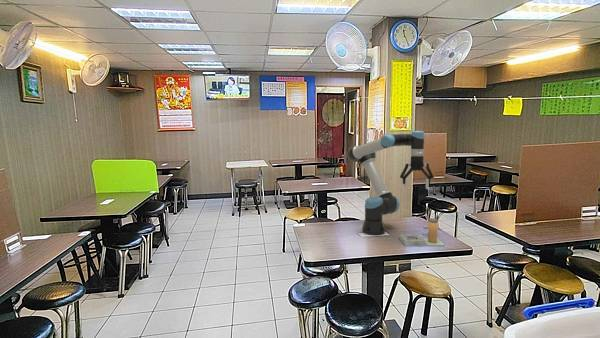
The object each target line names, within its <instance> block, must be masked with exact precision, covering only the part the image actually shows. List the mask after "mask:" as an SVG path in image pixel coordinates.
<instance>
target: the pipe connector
mask: <svg viewBox="0 0 600 338" xmlns="http://www.w3.org/2000/svg"><path fill="white" fill-rule="evenodd" d="M422 228H423V229H424V230H428V229H429V224H428V225H423V226H422ZM437 230H441V227H440V226H438V228H437Z"/></svg>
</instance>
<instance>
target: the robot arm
mask: <svg viewBox="0 0 600 338" xmlns="http://www.w3.org/2000/svg"><path fill="white" fill-rule="evenodd" d="M424 144H425V132H424V131H423V130H412V131H411V133H398V134H397V133H394V134H393V133H392V134H384V135H382V137H380V138H377V139H374V140H372V141H370V142H367V143H364V144H362V145H354V146H352V147H350V148H349V149H347V153H346V157H347V158H348V161H350V162H353V163H359V164H360V167H363V168H364V170H365V172H366V175H367V178H368V179H369V181H370V184H371V186H372V188H373V190H374V193H375V194H376V196H370V197H368V198H366V199H365V203H364V222H363V225H362V227H361V229H362V232H363V234H366V235H372V236H380V235H384V234H385V233H386V228H385V225H384V222H383V216H384V215H385V216H386V215H390V214H393V213H394V214H395V213H396V212H397V211H398V210H399V208H400V206H401V205H400V200H399V197H397V196H395V195H393V193H392V192H391V191H389V190H388V188H387V186H386V184H385V182H384V181H385V180H384V179H383V178H382V175H381V173H380V170H379V169H378V166H377V165H376V160H377V159H376V157H377V155H376V154H377V152H379V151H382V150H385V149H388V148H392V147H401V146H403V147H404V146H405V147H407V146H409V147H410V163H408V162H406V163H405V164H404V168H403V169H402V172H401V173H400V175H399V178H400V179H402V184H403V189H404V190H407V189H408V188H407V184H408V179H407V178H408V176H410V174H411V173H413V171H416V172H417V171H421V172H422V173H423V174H424V176H425V177H426V178H425V190H429V186H430V185H431V179H434V174H433V173H432V170H431V168H430V165H429V163H428V162H425V163H424V160H425V159H424V158H425V157H424V153H425V150H424V149H425V147H424V146H425V145H424ZM423 167H425V168H426V170H425V169H424V168H423ZM408 168H409V170H408ZM407 170H408V171H407ZM426 171H427V172H426ZM429 184H430V185H429Z"/></svg>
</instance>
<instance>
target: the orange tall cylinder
mask: <svg viewBox="0 0 600 338" xmlns="http://www.w3.org/2000/svg"><path fill="white" fill-rule="evenodd" d="M428 225H429V229H427V230H428V231H427V233H428V234H427V239H428V242H430V243H437V239H438V229H437V228H438V227H439V226H438V225H439V219H438V218H429V219H428Z"/></svg>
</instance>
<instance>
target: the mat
mask: <svg viewBox="0 0 600 338" xmlns="http://www.w3.org/2000/svg"><path fill="white" fill-rule="evenodd" d="M423 239H424V240H425V241H426V247H445V246H446V245H445V243H443V242H442V241H441V240H440V239H439V238H437V243H430V242H428V238H423Z"/></svg>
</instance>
